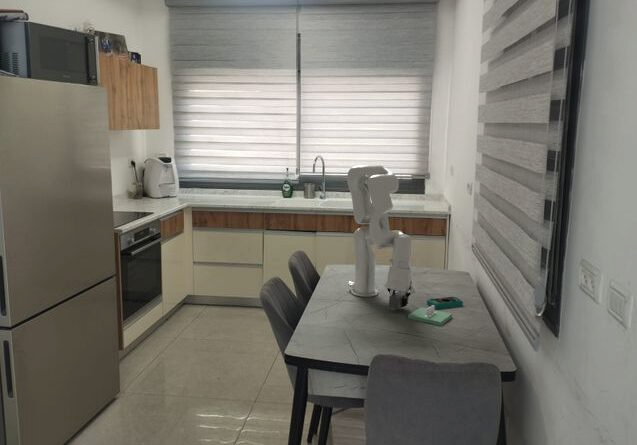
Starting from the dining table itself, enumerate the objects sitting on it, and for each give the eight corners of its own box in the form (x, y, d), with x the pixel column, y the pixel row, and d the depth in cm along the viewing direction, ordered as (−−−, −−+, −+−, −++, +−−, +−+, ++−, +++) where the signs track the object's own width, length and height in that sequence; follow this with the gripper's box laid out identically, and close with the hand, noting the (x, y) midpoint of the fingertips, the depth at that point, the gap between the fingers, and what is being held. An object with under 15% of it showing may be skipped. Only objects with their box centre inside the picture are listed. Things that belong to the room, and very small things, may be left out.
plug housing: (388, 307, 230) (389, 296, 229) (398, 301, 238) (399, 290, 237) (398, 309, 228) (398, 298, 227) (408, 303, 235) (408, 293, 234)
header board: (408, 318, 224) (408, 307, 223) (420, 310, 233) (421, 300, 232) (440, 325, 216) (440, 314, 215) (451, 317, 225) (452, 306, 224)
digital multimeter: (464, 306, 241) (464, 300, 240) (435, 310, 235) (435, 303, 235) (454, 301, 247) (454, 295, 247) (426, 305, 242) (426, 298, 242)
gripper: (379, 262, 231) (376, 303, 234) (415, 269, 221) (412, 312, 225) (387, 258, 237) (385, 298, 240) (423, 265, 227) (420, 307, 231)
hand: (398, 304), depth 233 cm, fingers closed on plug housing, 4 cm apart
